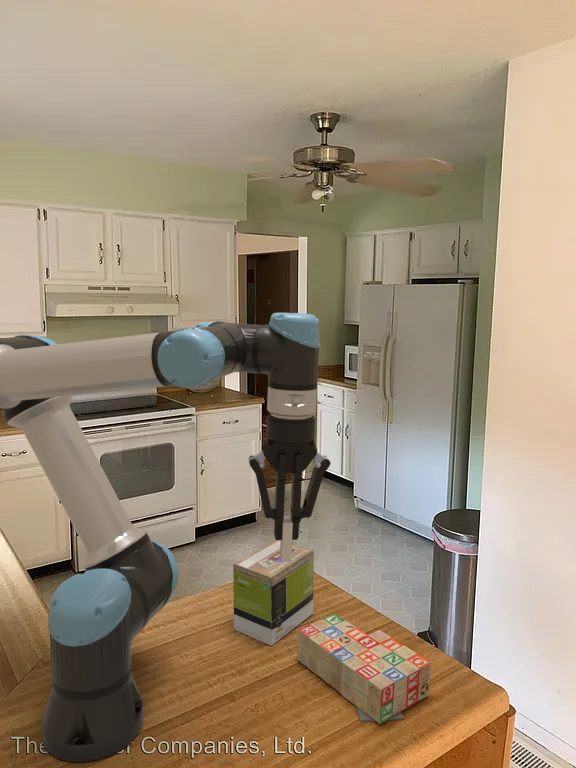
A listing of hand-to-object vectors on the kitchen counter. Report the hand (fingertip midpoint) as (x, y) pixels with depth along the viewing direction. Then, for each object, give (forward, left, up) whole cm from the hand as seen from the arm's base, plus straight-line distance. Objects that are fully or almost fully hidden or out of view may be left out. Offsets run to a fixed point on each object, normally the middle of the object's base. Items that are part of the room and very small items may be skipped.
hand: (285, 557), depth 96 cm
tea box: (-18, +16, -26) cm, 36 cm away
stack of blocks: (+4, +8, -22) cm, 24 cm away
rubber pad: (+10, +12, -26) cm, 30 cm away
